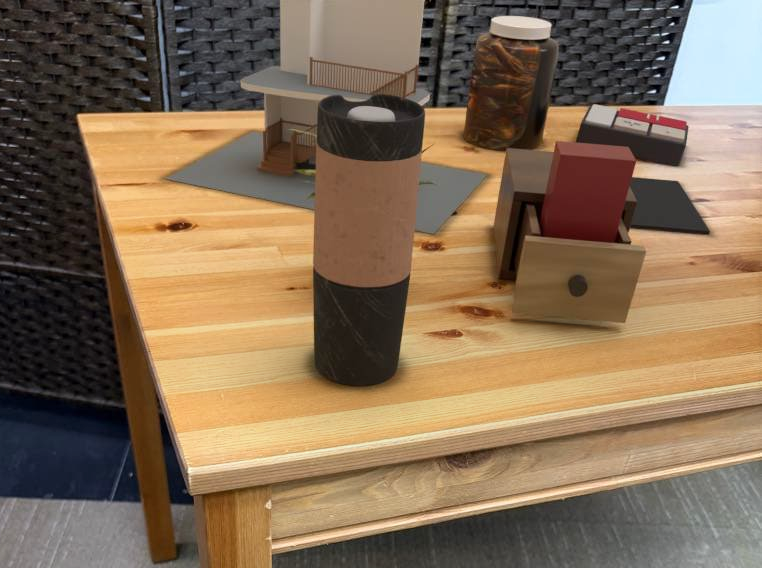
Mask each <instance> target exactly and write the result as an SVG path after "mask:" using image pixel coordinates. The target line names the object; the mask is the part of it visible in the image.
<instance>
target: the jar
mask: <svg viewBox="0 0 762 568" xmlns="http://www.w3.org/2000/svg"><path fill="white" fill-rule="evenodd" d="M488 30H489V31H487V32H485V33H483V34H481V35H479V36H478V38H477V39H476V45H475V49H474V54H473V61H472V66H471V67H472V68H471V75H470V82H469V87H468V95H467V96H468V97H467V105H466V111H465V119H464V128H463V138H464V139H465V140H466V141H467V142H469V143H471V144H473V145H475V146H479V147H481V148H486V149H491V150H497V151H506V149H507V148H513V149H525V150H533V149H536V148H538V147H539V146H541V144H542V142H543V138H544V133H545V129H546V128H545V127H546V123H547V119H548V113H549V108H550V102H551V97H552V92H553V86H554V82H555V81H554V80H555V76H556V70H557V65H558V58H559V48H560V47H559V43H558V42H557V41H556V40H555V39H553V38H552V37H551V31H552V23H551V22H550V21H548V20H544V19H541V18H536V17H530V16H519V15H500V16H495V17H492V18H491V20H490V26H489V29H488Z"/></svg>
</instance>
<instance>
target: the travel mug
mask: <svg viewBox="0 0 762 568" xmlns="http://www.w3.org/2000/svg"><path fill="white" fill-rule="evenodd" d="M425 110H426V109H425V108H424V107H423V105H422V106H421V105H420V104H418V103H416V102H414V101H412V100H409V99H406V98H402V97H398V96H393V95H387V94H375V95H373V96H372V97H371V98H370V99H368V100H366V101H360V102H352V101H347V100H345V99H344V98H343V96H342V95H338V94H337V95H331V96H328V97H326V98H323V99H322V100H321V101H320V102H319V104H318V112H317V146H316V180H315V210H314V213H313V214H314V218H313V246H312V247H313V249H312V250H313V252H312V287H313V288H312V292H313V293H312V295H313V298H312V299H313V300H312V301H313V358H314V365H315V368H316V370H317V372H319V374H320V375H322V376H323V377H325V378H326V379H328V380H329V381H332V382H335V383H338V384H342V385H346V386H354V387H355V386H356V387H357V386H359V387H363V386H372V385H377V384H381V383H383V382H386V381H388V380H389V379H391V378H392V377H393V376H394V375H395V373H396V372H397V370H398V366H399V359H400V354H401V348H402V347H401V346H402V338H403V331H404V326H405V325H404V323H405V316H406V309H407V303H408V302H407V301H408V296H409V295H408V294H409V287H410V285H409V284H410V280H411V270H412V261H413V251H414V241H415V231H416V230H415V220H416V209H417V198H418V188H419V177H420V166H421V162H422V156H423V153H422V151H423V145H424V144H423V143H424V134H425V133H424V132H425V122H426V111H425Z"/></svg>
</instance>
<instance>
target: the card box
mask: <svg viewBox="0 0 762 568" xmlns="http://www.w3.org/2000/svg"><path fill="white" fill-rule="evenodd" d="M553 152H554V154H553V159H552V164H551V169H550V174H549V179H548V183H547V188H546V193H545V198H544V203H543V208H542V213H541V218H540V223H539V228H540V233H541V235H540V237H548V238H560V239H571V240H583V241H594V242H606V243H614V242H615V238H616V235H617V231H618V227H619V223H620V220H621V216H622V212H623V209H624V205H625V201H626V198H627V194H628V190H629V186H630V183H631V179H632V177H633V176H634V172H635V167H636V163H637V159H636V157H634V156H633V154H632V152H631V150H630V149H629V147H624V146H612V145H600V144H588V143H576V141H563V140H561V141H560V140H556V141H555V145H554V150H553Z"/></svg>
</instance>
